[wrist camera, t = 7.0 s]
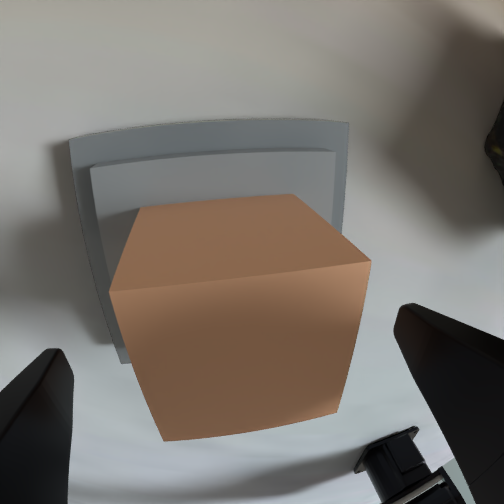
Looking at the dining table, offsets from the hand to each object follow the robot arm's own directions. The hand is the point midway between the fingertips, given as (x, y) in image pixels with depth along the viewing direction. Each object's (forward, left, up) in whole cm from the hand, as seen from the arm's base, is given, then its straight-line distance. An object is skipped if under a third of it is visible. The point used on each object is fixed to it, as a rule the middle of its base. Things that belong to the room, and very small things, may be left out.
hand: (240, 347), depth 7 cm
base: (0, 0, -7) cm, 7 cm away
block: (0, 0, -4) cm, 4 cm away
